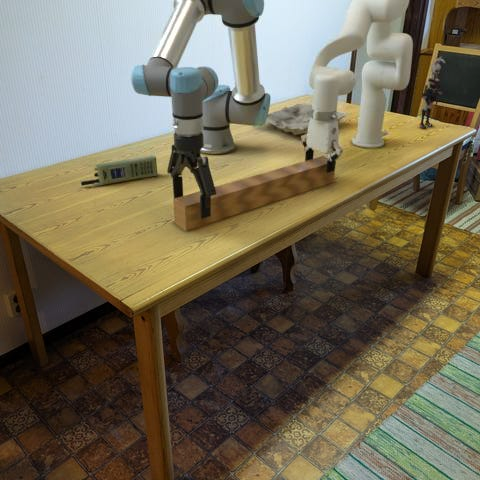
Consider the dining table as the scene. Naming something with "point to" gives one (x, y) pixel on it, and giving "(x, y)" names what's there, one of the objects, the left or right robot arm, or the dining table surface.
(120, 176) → the handheld radio
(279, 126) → the grey rock slab
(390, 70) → the right robot arm
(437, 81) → the figurine
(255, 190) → the post
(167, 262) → the dining table surface
